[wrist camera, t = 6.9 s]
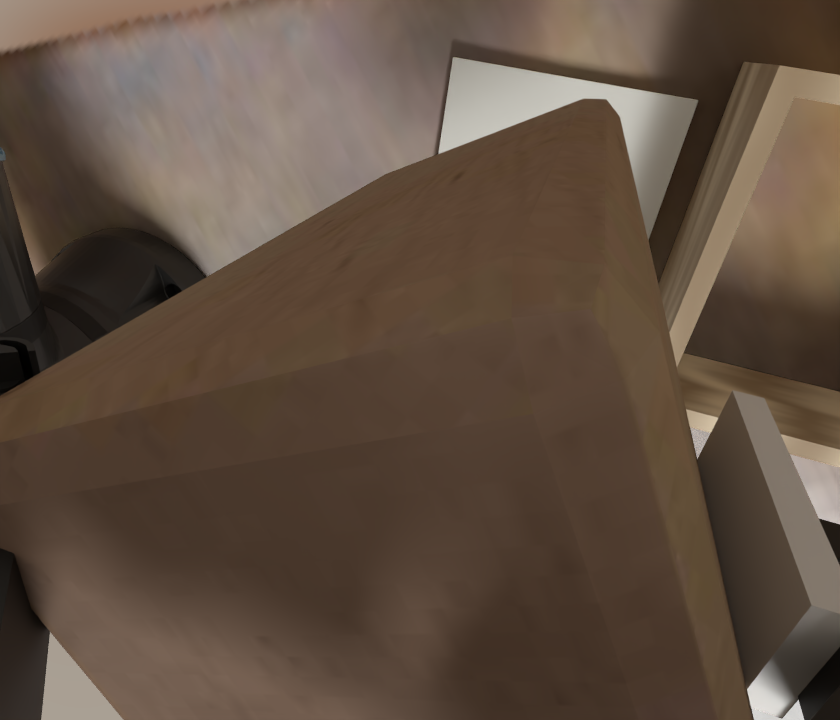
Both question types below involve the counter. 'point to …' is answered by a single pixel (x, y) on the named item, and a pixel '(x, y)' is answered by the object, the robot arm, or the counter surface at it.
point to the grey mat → (541, 92)
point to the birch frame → (708, 245)
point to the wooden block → (390, 465)
